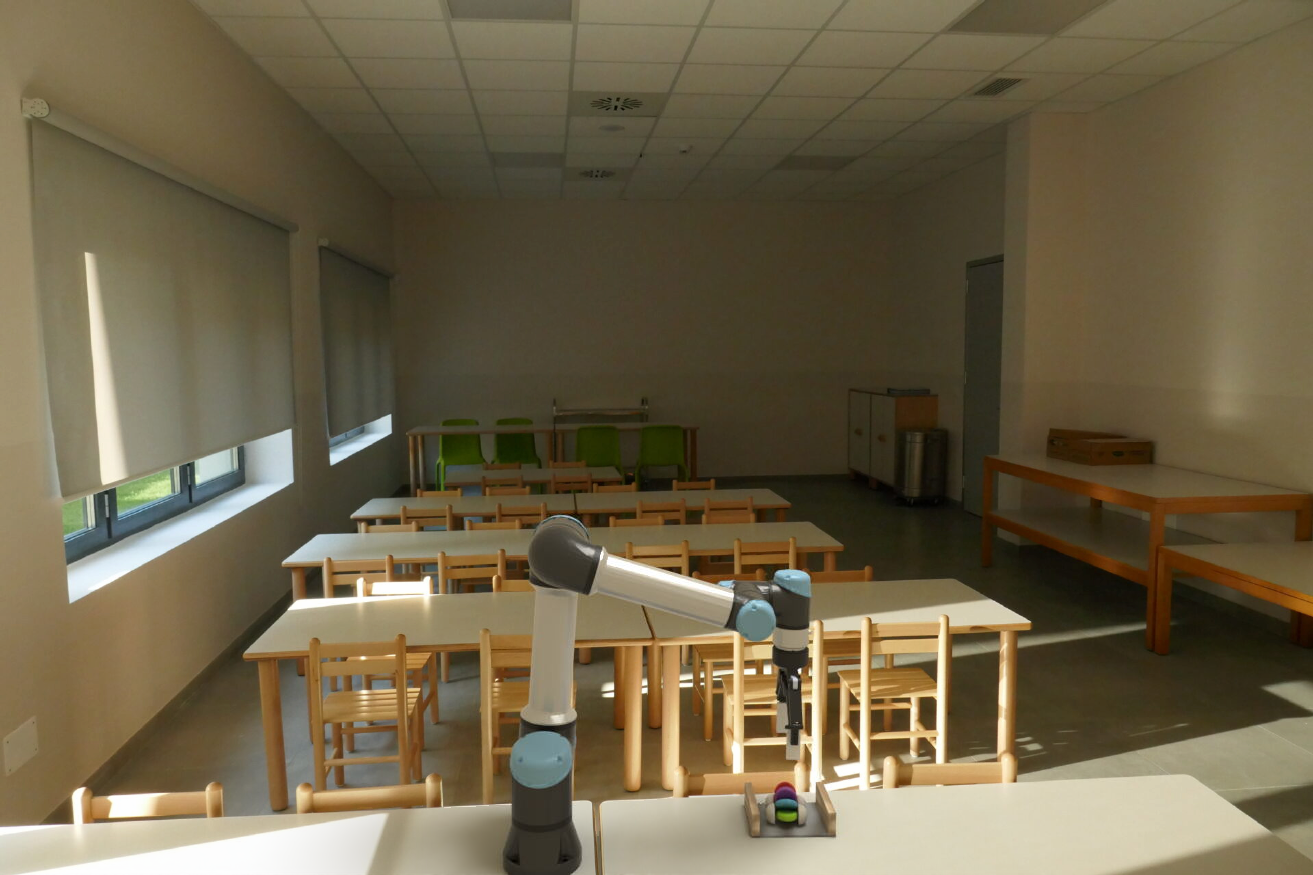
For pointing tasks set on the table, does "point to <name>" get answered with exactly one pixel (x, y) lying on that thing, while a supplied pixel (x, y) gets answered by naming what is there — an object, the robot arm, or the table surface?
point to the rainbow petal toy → (786, 805)
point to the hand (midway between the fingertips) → (787, 745)
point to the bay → (816, 825)
